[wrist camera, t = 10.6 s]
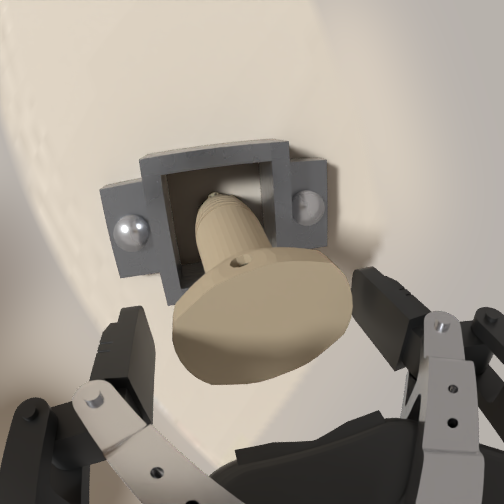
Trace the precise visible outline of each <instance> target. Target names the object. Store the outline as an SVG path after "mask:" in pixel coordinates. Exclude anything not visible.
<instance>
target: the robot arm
mask: <svg viewBox="0 0 504 504" xmlns="http://www.w3.org/2000/svg"><path fill="white" fill-rule="evenodd" d="M351 293H352V304H353V308H352V316H353V318H354V319H355V321H356V322H357V323H358V324H359V326H360V327H361V328H362V329H363V331H364V332H365V333H366V335H367V336H368V337H369V338H370V340H371V341H372V342H373V344H374V345H375V346H376V347H377V349H378V350H379V351H380V353H381V354H382V355H383V357H384V358H385V359H386V360H387V362H388V363H389V364H390V366H391V367H392V368H393V370H394V371H397V370H399V369H402V368H404V367H406V368H407V369H408V372H407V375H406V382H405V391H404V398H403V404H402V411H401V416H400V418H386V419H384V418H383V416H382V415H381V413H380V411H379V410H378V411H375V412H373V413H370V414H367V415H365V416H362V417H359V418H357V419H354V420H351V421H348V422H346V423H344V424H343V425H341V426H339V427H338V428H336V429H334V430H333V431H331V432H329V433H327V434H326V435H324V436H322V437H320V438H319V439H317V440H314V441H302V442H278V443H277V442H275V443H274V442H273V443H268V444H264V445H259V446H254V447H249V448H243V449H238V450H235V453H236V458H237V460H234V461H232V462H230V463H228V464H226V465H224V466H222V467H220V468H219V469H217V470H216V471H214V472H213V473H212V474H211V475H210V476H208V475H206V474H205V473H204V472H203V471H202V470H200V469H199V468H198V467H197V466H196V465H195V464H193V463H192V462H191V461H190V460H189V459H188V458H187V457H185V456H184V455H183V454H182V453H181V452H180V451H179V450H178V449H176V447H175V446H173V445H172V444H171V443H170V442H169V441H168V440H167V439H166V438H165V437H164V436H163V435H162V434H161V433H160V432H159V431H158V430H157V429H156V428H155V427H154V426H153V425H152V424H153V394H154V372H155V345H154V340H153V337H152V334H151V331H150V328H149V325H148V322H147V319H146V315H145V312H144V309H143V307H142V306H134V307H127V308H122V309H121V311H120V315H119V319H118V322H117V323H110V325H109V326H108V327H107V328H106V329H105V331H104V332H103V333H102V337H101V340H100V345H99V347H98V353H97V354H96V358H95V361H94V365H93V369H92V373H91V376H90V380H89V382H87V383H85V384H83V385H82V386H80V387H79V388H78V389H77V390H76V392H75V393H74V395H73V399H72V401H71V402H68V403H64V404H61V405H57V406H55V407H50V406H49V405H48V403H47V402H46V401H45V400H44V399H41V398H36V397H35V398H30V399H27V400H25V401H24V402H22V403H21V404H20V405H19V406H18V407H17V409H16V411H15V413H14V416H13V420H12V423H11V427H10V431H9V434H8V438H7V442H6V446H5V450H4V454H3V458H2V463H1V468H0V504H89V477H90V465H91V464H94V463H98V462H101V461H104V460H107V461H108V462H109V464H110V465H111V466H112V468H113V469H114V470H115V471H116V473H117V474H118V475H119V477H120V478H121V479H122V480H123V482H124V483H125V484H126V485H127V487H128V488H129V489H130V490H131V491H132V492H133V494H134V495H135V496H136V497H137V498H138V499H139V500H140V502H141V503H142V504H504V451H502V450H499V449H496V448H492V447H489V446H486V445H483V444H480V443H479V422H478V421H479V418H478V407H479V408H480V410H481V411H482V412H483V414H484V415H485V417H486V418H487V419H488V420H489V422H490V423H491V425H492V426H493V428H494V429H495V430H496V432H497V433H498V435H499V436H500V438H501V439H502V440H503V442H504V382H503V381H502V379H501V378H500V377H499V376H498V375H497V374H496V372H495V371H494V370H493V369H492V368H491V367H490V366H489V362H490V360H491V358H492V356H493V354H495V355H496V356H497V358H498V359H499V360H500V361H501V362H502V363H503V364H504V315H503V314H502V313H501V312H499V311H498V310H496V309H493V308H489V307H483V308H479V309H478V310H477V311H476V314H475V316H474V319H473V320H472V321H463V322H459V321H458V319H457V318H456V317H454V316H453V315H451V314H449V313H447V312H442V311H434V312H431V311H430V310H429V309H428V308H427V307H426V306H424V305H423V304H422V303H421V302H420V301H419V300H418V299H417V298H416V297H414V296H413V295H411V293H410V292H409V291H408V290H407V289H405V288H404V287H403V286H402V285H401V284H400V283H399V282H397V281H395V280H394V279H391V278H389V277H387V276H384V275H382V274H381V273H380V272H379V271H378V270H377V269H376V268H374V267H367V268H362V269H357V270H355V271H354V272H353V277H352V288H351Z"/></svg>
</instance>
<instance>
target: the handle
mask: <svg viewBox="0 0 504 504" xmlns="http://www.w3.org/2000/svg"><path fill="white" fill-rule="evenodd" d="M195 235H196V243H197V247H198V250H199V254H200V257H201V260H202V264H203V267H204V270H205V274H204V275H203V276H202V277H201V278H200V279H199V280H198V281H196V282H195V283H194V284H193V285H192V286H191V287H190V288H189V289H188V290H187V291H186V292H185V293H184V295H183V296H182V297H181V298H180V299H179V300H178V301H177V302H176V304H175V308H174V313H173V332H172V341H173V345H174V348H175V352H176V354H177V356H178V357H179V359H180V361H181V363H182V364H183V365H184V366H185V368H186V369H187V370H188V371H189V372H190V373H191V374H193V375H194V376H195V377H196V378H198V379H200V380H202V381H204V382H206V383H209V384H211V385H233V384H249V383H256V382H261V381H265V380H268V379H271V378H274V377H277V376H279V375H282V374H285V373H287V372H290V371H292V370H295V369H297V368H299V367H301V366H303V365H305V364H307V363H309V362H310V361H312V360H313V359H315V358H316V357H318V356H319V355H320V354H321V353H323V352H324V351H325V350H326V349H327V348H329V347H330V346H331V345H332V344H333V343H334V342H336V341H337V340H338V339H339V338H340V337H341V336H342V335H343V334H344V333H345V331H346V329H347V327H348V325H349V322H350V319H351V315H352V308H353V304H352V293H351V289H350V285H349V283H348V281H347V278H346V276H345V275H344V274H343V272H342V271H341V270H340V269H339V268H338V267H337V266H336V265H335V264H334V263H333V262H332V261H331V260H330V259H329V258H328V257H326V256H325V255H324V254H323V253H321V252H320V251H318V250H313V249H305V248H294V247H272V246H271V244H270V242H269V240H268V238H267V236H266V234H265V232H264V230H263V228H262V226H261V224H260V222H259V220H258V219H257V217H256V216H255V215H254V213H253V212H252V211H251V210H250V208H249V207H248V206H246V205H245V204H244V203H243V202H242V201H240V200H239V199H237V198H236V197H235V196H234V195H225V194H219V193H218V192H212V193H210V194H209V195H208V199H207V200H206V201H205V202H204V203H203V204H202V206H200V207H199V208H198V212H197V218H196V225H195Z"/></svg>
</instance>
